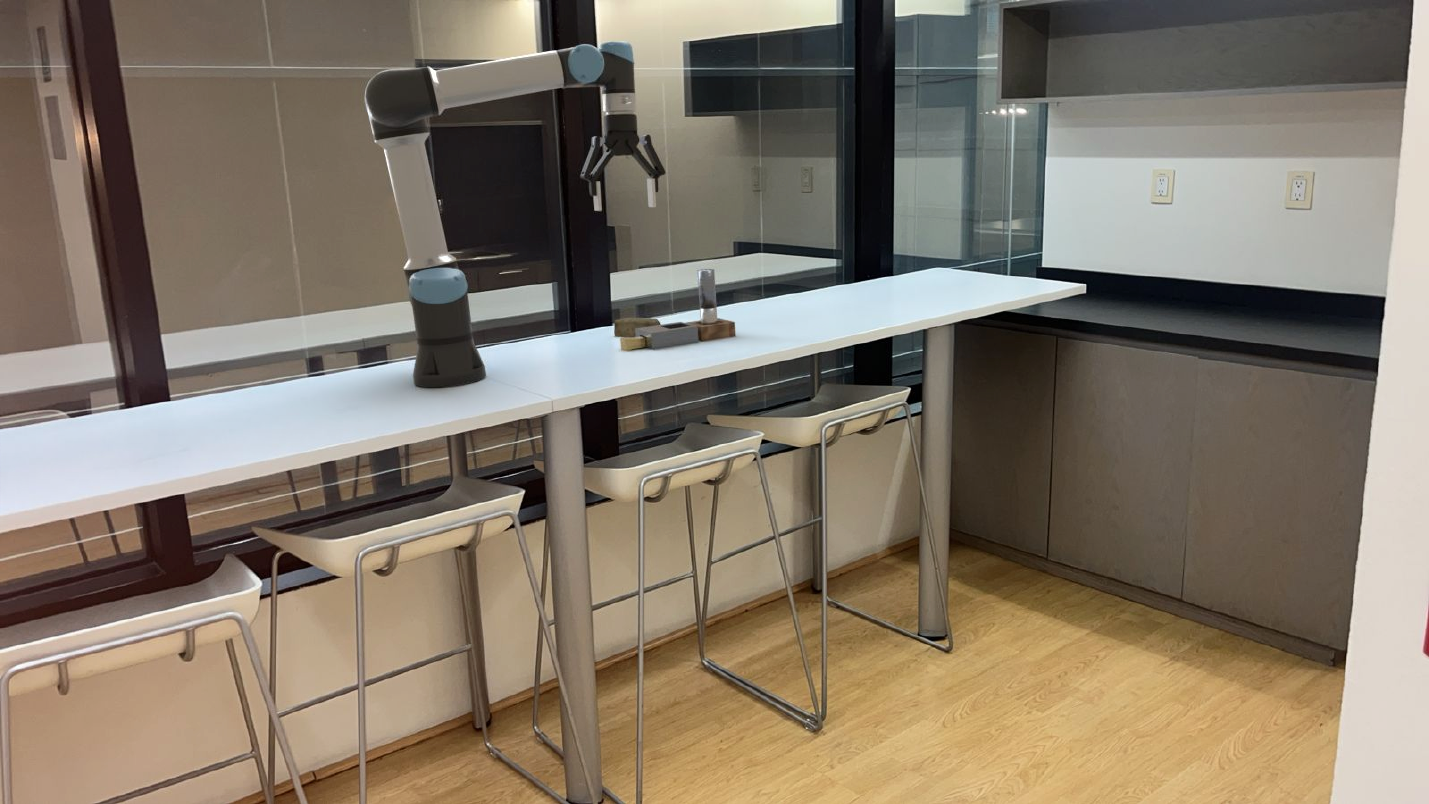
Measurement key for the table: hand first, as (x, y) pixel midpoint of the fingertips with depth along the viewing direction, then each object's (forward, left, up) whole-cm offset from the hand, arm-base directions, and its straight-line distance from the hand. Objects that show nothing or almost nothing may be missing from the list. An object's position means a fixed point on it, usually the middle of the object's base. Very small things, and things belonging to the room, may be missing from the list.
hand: (625, 208), depth 245 cm
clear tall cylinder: (+17, -6, -32) cm, 36 cm away
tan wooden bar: (-2, -6, -32) cm, 32 cm away
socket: (+5, -6, -32) cm, 33 cm away
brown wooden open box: (+17, -6, -32) cm, 37 cm away
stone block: (+5, +10, -33) cm, 35 cm away
